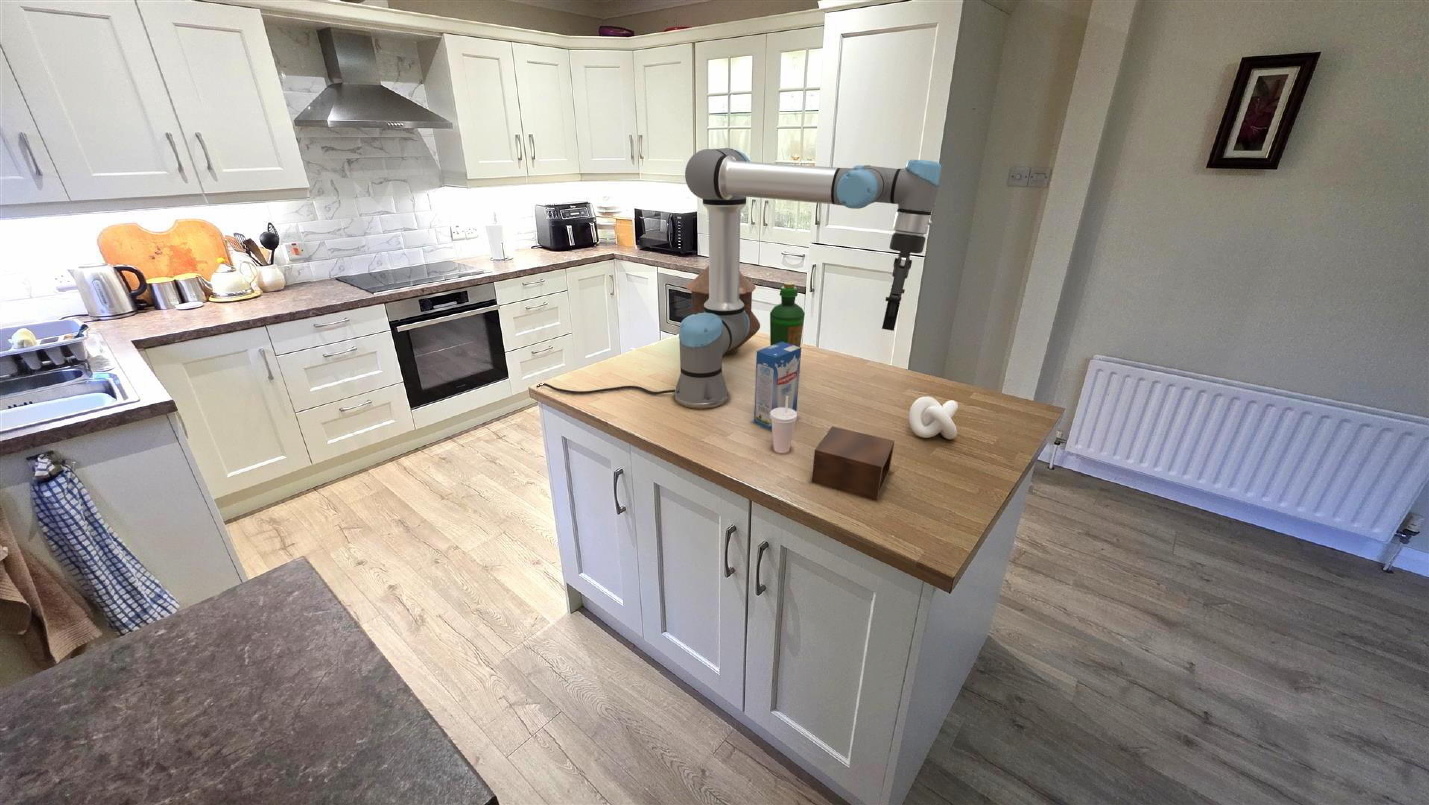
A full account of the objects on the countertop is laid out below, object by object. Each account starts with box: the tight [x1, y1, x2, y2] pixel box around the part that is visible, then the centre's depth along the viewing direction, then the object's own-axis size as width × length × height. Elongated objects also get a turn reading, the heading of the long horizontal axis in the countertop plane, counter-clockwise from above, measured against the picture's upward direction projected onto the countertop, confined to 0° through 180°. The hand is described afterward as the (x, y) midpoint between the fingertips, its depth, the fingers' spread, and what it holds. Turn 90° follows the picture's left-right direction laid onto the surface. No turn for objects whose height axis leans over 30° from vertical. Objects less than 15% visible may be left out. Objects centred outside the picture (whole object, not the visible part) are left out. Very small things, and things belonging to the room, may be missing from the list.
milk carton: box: [753, 342, 802, 432], centre depth 140 cm, size 10×6×20 cm, turn 135°
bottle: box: [769, 281, 806, 347], centre depth 170 cm, size 11×11×28 cm
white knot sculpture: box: [908, 396, 959, 440], centre depth 137 cm, size 11×12×9 cm
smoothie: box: [770, 396, 798, 454], centre depth 128 cm, size 6×6×14 cm
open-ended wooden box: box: [811, 425, 895, 501], centre depth 119 cm, size 14×12×8 cm
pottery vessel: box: [685, 265, 761, 355], centre depth 186 cm, size 26×26×30 cm
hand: (888, 324), depth 134 cm, fingers open, 13 cm apart
